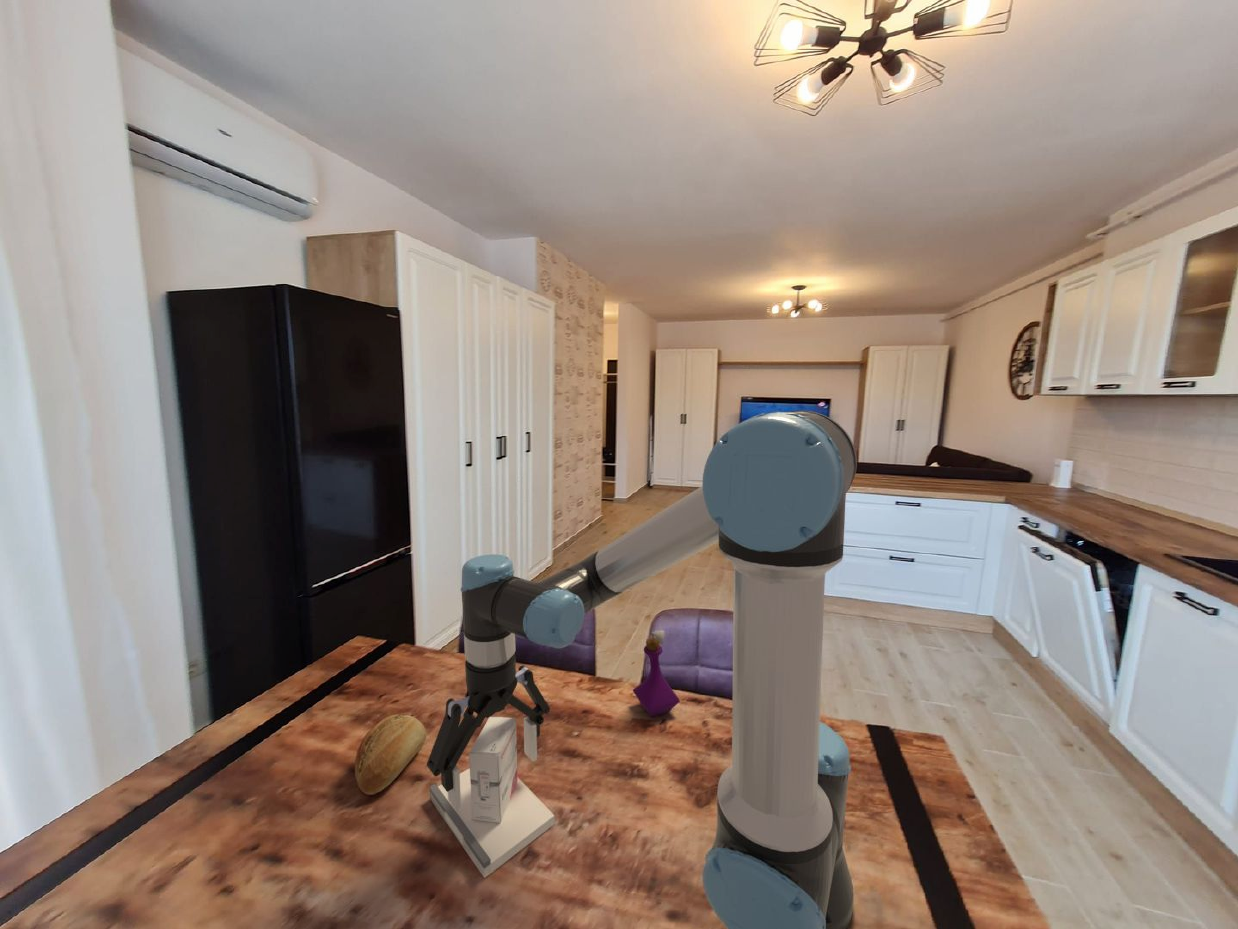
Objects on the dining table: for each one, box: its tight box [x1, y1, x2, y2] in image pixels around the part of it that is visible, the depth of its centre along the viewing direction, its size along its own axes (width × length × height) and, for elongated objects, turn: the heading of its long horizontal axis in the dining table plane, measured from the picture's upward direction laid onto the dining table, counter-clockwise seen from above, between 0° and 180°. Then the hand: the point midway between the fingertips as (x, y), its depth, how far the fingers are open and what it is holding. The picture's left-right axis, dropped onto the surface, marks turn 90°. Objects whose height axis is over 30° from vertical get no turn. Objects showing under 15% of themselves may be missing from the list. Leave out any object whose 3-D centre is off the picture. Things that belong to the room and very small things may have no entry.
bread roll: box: [354, 713, 427, 796], centre depth 84 cm, size 10×15×8 cm, turn 173°
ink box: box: [468, 716, 518, 823], centre depth 75 cm, size 9×5×12 cm, turn 174°
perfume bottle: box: [632, 629, 681, 718], centre depth 99 cm, size 8×8×18 cm
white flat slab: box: [429, 767, 555, 879], centre depth 76 cm, size 18×12×2 cm
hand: (495, 779), depth 76 cm, fingers open, 13 cm apart
